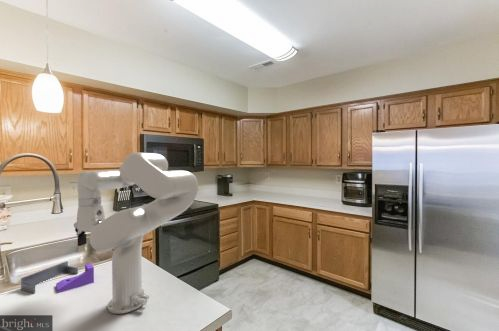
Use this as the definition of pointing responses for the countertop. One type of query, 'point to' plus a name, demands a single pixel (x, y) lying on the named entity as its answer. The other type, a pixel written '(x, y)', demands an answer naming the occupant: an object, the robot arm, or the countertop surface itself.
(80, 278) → the bracket
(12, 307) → the countertop surface
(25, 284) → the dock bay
